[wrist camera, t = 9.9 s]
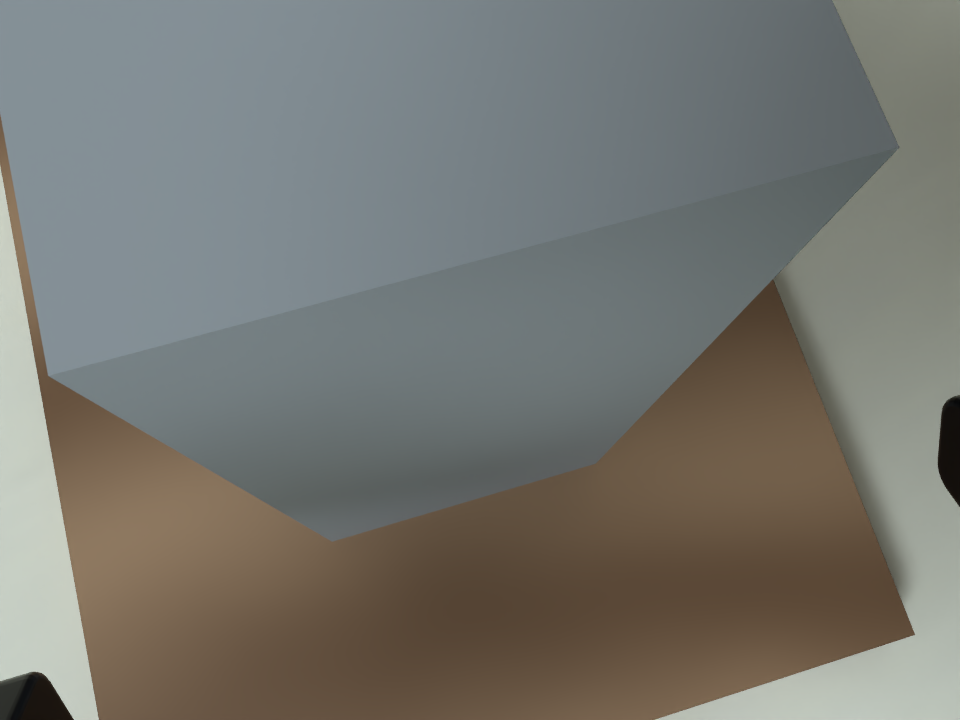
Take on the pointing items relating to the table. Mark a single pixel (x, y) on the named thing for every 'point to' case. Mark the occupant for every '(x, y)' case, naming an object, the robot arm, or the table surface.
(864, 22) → the table surface
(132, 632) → the hinge jig
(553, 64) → the loose hinge leaf
